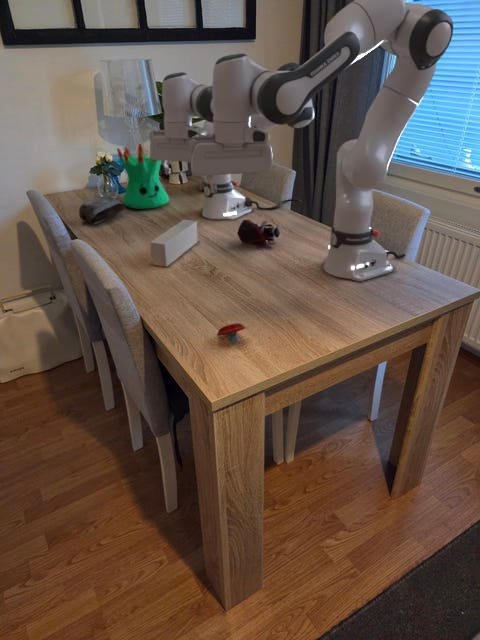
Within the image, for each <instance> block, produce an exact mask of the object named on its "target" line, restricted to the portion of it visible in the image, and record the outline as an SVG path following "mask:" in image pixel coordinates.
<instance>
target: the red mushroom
mask: <svg viewBox="0 0 480 640" xmlns="http://www.w3.org/2000/svg"><path fill="white" fill-rule="evenodd" d="M245 329H246V326H244V325H243V324H241V323H238V322H236V323H229V324H227V325H225V326H222V327H221V328H220V329H218V331H217V333H216V336H217V337H222V336H228V342H229V343H230V344H233V345H235V344H236V343H237V342H239V337H238V336H237V333H238V332H240V331H243V330H245Z"/></svg>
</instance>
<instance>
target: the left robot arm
mask: <svg viewBox="0 0 480 640" xmlns="http://www.w3.org/2000/svg"><path fill="white" fill-rule="evenodd" d="M301 66H302V65H300V63H299V64H298V63H296V62H287V63H285V64H283V65H281V66H280V67H279V68H277V70H272V71H273V72H279V73H283V72H290V71H294V70H296V69H298V68H299V67H301ZM161 85H162V87H161V99H162V108H163V112H164V117H163V127H164V129H152V130H151V131H149V134H148V139H149V143H150V144H149V157H150V156H151V158H152V159H153V160H161V165H162V167H163V169H164V174H165V175H171V174H172V168H171V167H169V166H168V164H167V163H168V162H185V163H191V155H192V154H191V153H190V150H189V141H190V139H191V138H192V137H194V136H195V135H197V134H200V135H205V134H213V116H214V103H213V98H212V85H208V84H205V83H202V82H199V81H198V80H196V79H194V78H193V77H191V76H190V75H188V73H186V72H184V71H183V72H175V73H170V74H167V75H165V77H164V78H163V79H162V83H161ZM312 99H313V98H311V99H310V101H309V102H308V103H307V105H306V106H305V108H304V109H303V111H302V112H301V114H300V115H299V116H298V117H297V118H296V119H295V120H294V121H292V122H290V123H288V124H286V125H287V126H288V127H290V128H292V129H301V128H305V127H306V126H308V125H309V124H310V123H312V122H313V121H314V119H315V108H314V107H313V100H312ZM193 117H198V118H200V119H202V120H205V121H204V123H203V126H202V127H201V126H198V125H196V124H193ZM250 125H251V126H256V127H258V128H261V129H263V130H265V131H267V130H270V129H272V128H273V129H274V128H275V127H277V126H279V125H278V124H274V123H272V122H271V121H269V120H268V119H266V118H264V117H262V116H260V115H258V114H253V115H251V118H250ZM194 139H195V138H194ZM194 139H192V140H194ZM213 139H214V138H213ZM191 176H192V177H197V176H196V175H194V174H193V172H192V171H191ZM203 178H204V189H203V193H204V194H203V195H204V199H203V206H202V207H203V208H202V211H201V216H202V217H204V218H205V219H210V220H229V221H230V220H235V219H237V218H240V217H242V216H244V215H246V214H249V213H250V212H252V208H251V207H253V204H255V205H256V208H257V209H259V210H266V211H267V210H271V211H272V210H276V209H279V208H281V206H282V204H284V203H289V202H298V203H299V204H303V201H302V200H300V199H299V198H289V199H285V200H281V201H280V202H279V203H278V205H276V206H272V207H262V206H259V203H258V202H257V201H255V200H252V199H251V198H250V197H245V196H244V195H243V194H242V193H240V191H238V190H236V189H235V187H238V186H239V183H240V182H239V181H237V180H232V174H223V175H212V179H210V180H211V182H212V184H216V185H217V193H211V190H210V184H209V182H208V181H207V179H206V175H204V176H203Z"/></svg>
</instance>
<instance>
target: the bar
mask: <svg viewBox="0 0 480 640" xmlns="http://www.w3.org/2000/svg"><path fill="white" fill-rule="evenodd" d="M198 242H199V241H198V221H197V220H190V219H182V220H181V221H179V222H178V223H176V224H175V225H174V226H172V227H170V228H169V229H168V230H166V231H164V232H163V233H161V234H160V235H158V236H157V237H156V238H154V239H153V240H151V241H150V242H149V243H150V251H151V261H152V265H154V266H160V267H164V268H168V266H170V265H171V264H173V262H174V261H176V260H178V258H179V257H181V256H182V255H183V254H185V253H186V252H187V251H188V250H189V249H191V248H192V247H193V246H194V245H196V244H197V243H198Z"/></svg>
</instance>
